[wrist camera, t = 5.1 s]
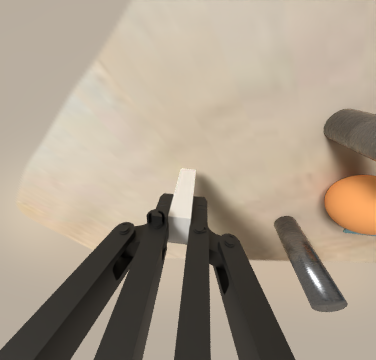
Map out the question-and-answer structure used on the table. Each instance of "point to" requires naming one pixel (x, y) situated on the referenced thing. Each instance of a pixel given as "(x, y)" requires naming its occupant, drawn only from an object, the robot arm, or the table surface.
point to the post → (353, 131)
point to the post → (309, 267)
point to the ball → (353, 203)
